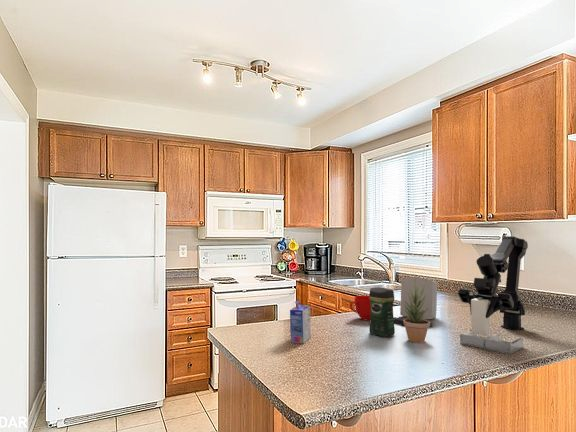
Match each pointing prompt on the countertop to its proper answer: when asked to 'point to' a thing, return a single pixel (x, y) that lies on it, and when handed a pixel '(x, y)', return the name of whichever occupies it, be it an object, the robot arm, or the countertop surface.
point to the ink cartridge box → (300, 323)
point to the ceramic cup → (362, 307)
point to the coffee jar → (381, 312)
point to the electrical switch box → (429, 299)
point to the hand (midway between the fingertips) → (478, 316)
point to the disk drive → (400, 319)
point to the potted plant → (416, 316)
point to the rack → (491, 342)
